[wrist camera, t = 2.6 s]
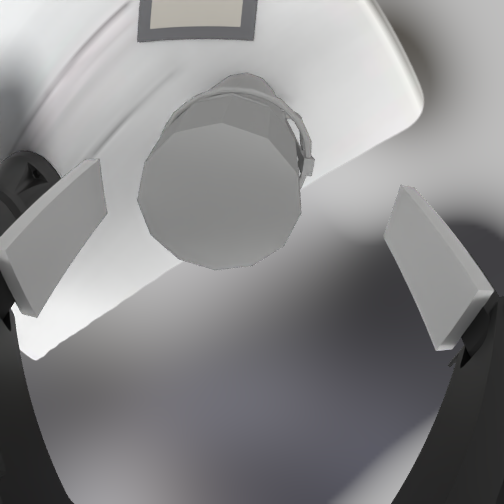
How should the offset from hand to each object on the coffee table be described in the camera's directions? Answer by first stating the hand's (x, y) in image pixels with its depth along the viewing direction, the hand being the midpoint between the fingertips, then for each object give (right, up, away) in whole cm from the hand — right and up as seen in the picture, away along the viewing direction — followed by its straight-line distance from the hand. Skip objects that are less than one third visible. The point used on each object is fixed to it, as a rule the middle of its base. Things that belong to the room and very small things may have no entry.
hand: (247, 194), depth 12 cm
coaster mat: (-6, +26, +11) cm, 29 cm away
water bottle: (0, +15, +19) cm, 24 cm away
